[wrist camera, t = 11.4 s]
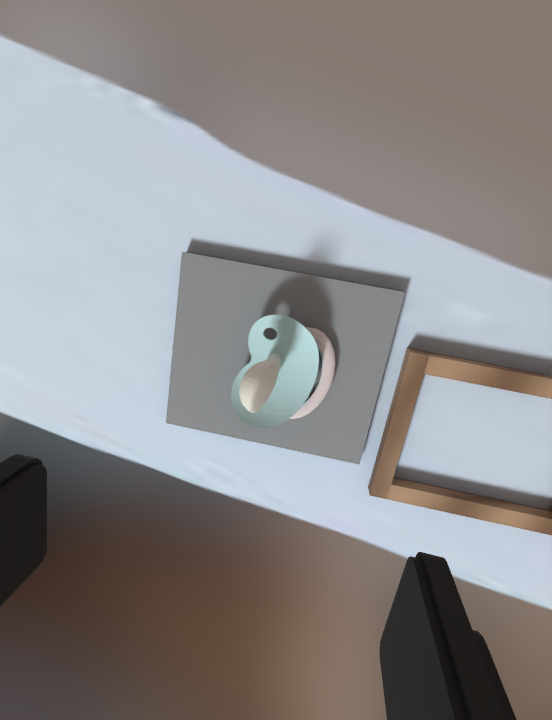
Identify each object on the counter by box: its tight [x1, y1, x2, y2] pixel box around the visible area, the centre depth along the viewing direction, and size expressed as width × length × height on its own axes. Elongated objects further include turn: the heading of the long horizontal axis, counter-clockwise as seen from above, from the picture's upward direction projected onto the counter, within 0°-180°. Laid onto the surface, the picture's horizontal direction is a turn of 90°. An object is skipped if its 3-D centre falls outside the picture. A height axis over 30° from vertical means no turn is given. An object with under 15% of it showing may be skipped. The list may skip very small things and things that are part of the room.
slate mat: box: [166, 252, 405, 464], centre depth 26 cm, size 14×12×1 cm
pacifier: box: [231, 314, 335, 428], centre depth 22 cm, size 7×6×6 cm
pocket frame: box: [368, 348, 552, 535], centre depth 25 cm, size 14×11×1 cm
